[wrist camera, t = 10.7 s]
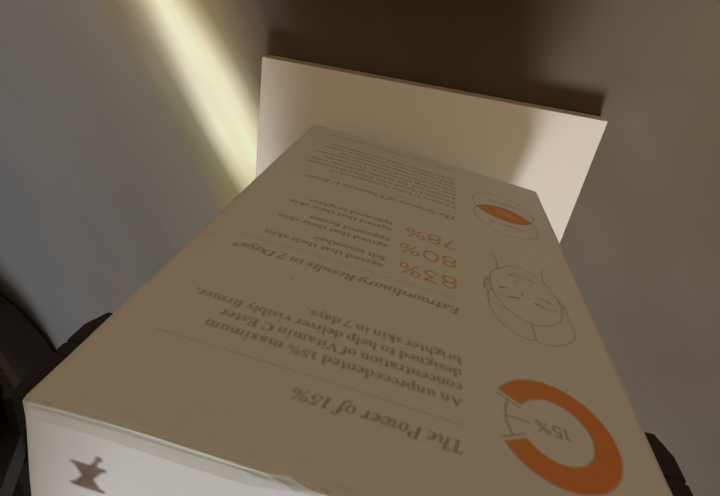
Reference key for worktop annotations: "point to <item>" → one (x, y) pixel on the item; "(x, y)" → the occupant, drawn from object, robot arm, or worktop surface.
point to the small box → (349, 350)
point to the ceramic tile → (433, 127)
